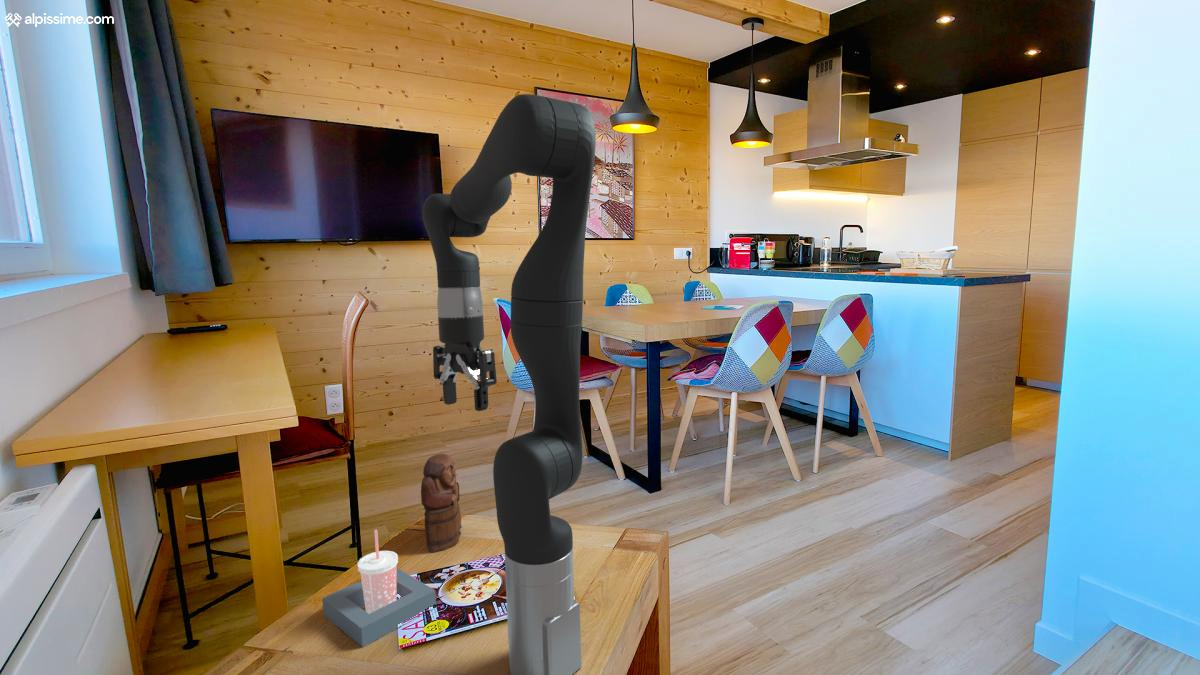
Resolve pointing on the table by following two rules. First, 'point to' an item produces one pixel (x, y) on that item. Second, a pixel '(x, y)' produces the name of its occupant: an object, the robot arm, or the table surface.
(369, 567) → the beverage cup
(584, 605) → the table surface
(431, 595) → the hole plate
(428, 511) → the wooden figurine
